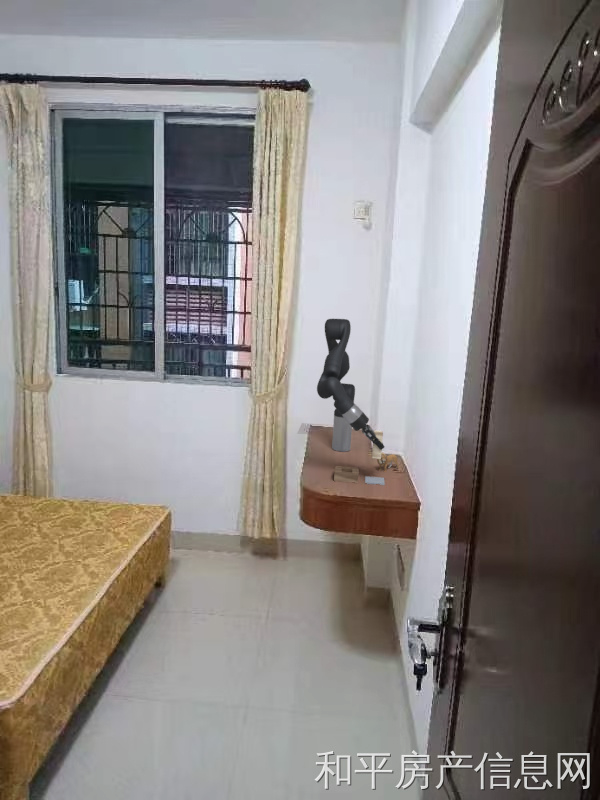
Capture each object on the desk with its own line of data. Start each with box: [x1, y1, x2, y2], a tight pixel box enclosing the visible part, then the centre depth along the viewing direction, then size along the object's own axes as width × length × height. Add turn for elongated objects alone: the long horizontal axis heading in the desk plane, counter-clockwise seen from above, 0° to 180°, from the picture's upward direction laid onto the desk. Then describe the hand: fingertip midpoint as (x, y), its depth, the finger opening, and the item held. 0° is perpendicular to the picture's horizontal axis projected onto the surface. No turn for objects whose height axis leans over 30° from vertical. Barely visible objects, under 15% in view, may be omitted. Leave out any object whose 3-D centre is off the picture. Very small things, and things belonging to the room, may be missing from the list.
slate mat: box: [364, 475, 386, 486], centre depth 250 cm, size 8×8×1 cm
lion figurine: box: [376, 452, 400, 473], centre depth 267 cm, size 15×5×9 cm, turn 137°
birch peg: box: [371, 429, 384, 460], centre depth 247 cm, size 4×4×11 cm
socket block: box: [333, 465, 360, 484], centre depth 252 cm, size 10×10×4 cm
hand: (381, 446), depth 247 cm, fingers closed on birch peg, 4 cm apart
